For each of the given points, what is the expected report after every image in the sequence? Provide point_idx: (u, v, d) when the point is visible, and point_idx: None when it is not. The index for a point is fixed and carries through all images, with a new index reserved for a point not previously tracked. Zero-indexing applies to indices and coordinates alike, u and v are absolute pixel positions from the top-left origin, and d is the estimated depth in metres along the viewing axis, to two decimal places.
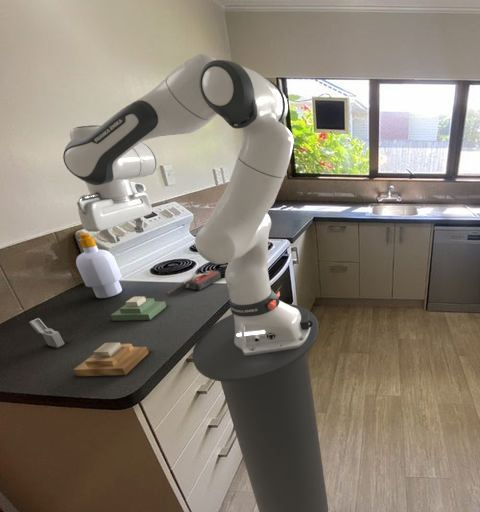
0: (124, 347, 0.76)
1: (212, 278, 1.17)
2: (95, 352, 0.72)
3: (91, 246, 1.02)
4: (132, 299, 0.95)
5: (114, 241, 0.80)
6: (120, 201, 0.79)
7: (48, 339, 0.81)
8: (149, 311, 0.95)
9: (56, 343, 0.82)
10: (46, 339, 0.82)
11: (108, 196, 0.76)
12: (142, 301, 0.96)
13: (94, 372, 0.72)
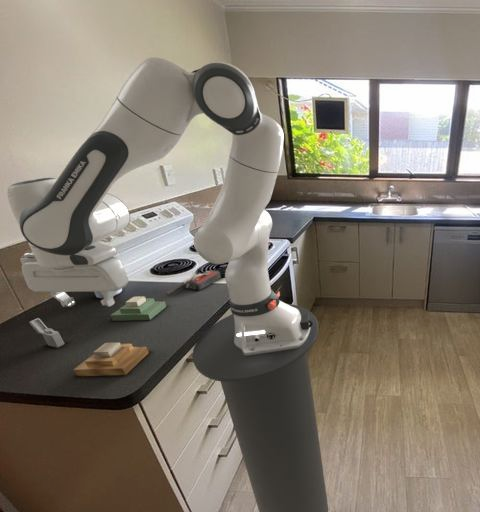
0: (124, 347, 0.76)
1: (212, 278, 1.17)
2: (95, 352, 0.72)
3: None
4: (132, 299, 0.95)
5: None
6: (51, 270, 0.63)
7: (48, 339, 0.81)
8: (149, 311, 0.95)
9: (56, 343, 0.82)
10: (46, 340, 0.82)
11: None
12: (142, 301, 0.96)
13: (94, 372, 0.72)
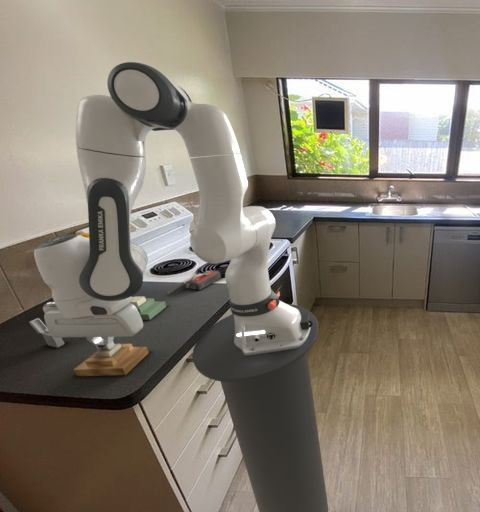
0: (124, 347, 0.76)
1: (212, 278, 1.17)
2: (96, 353, 0.72)
3: None
4: None
5: None
6: (72, 319, 0.67)
7: (48, 339, 0.81)
8: (149, 311, 0.95)
9: (56, 343, 0.82)
10: (46, 340, 0.82)
11: None
12: (142, 301, 0.96)
13: (94, 372, 0.72)
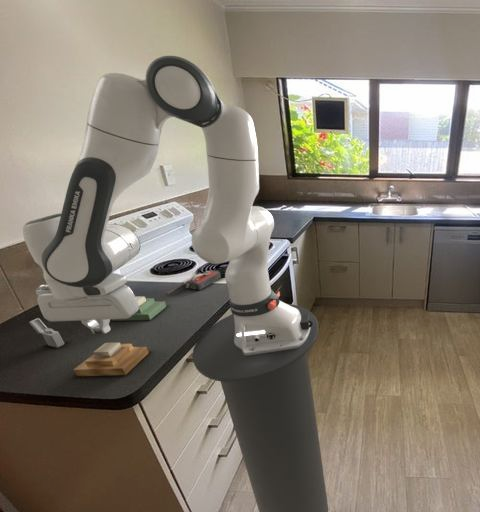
0: (124, 347, 0.76)
1: (212, 278, 1.17)
2: (95, 352, 0.72)
3: None
4: None
5: None
6: (65, 301, 0.65)
7: (48, 339, 0.81)
8: (149, 311, 0.95)
9: (56, 343, 0.82)
10: (46, 339, 0.82)
11: None
12: (142, 301, 0.96)
13: (94, 372, 0.72)
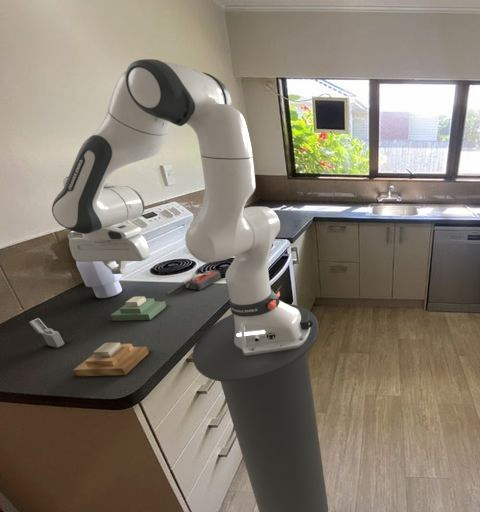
0: (124, 347, 0.76)
1: (212, 278, 1.17)
2: (95, 352, 0.72)
3: None
4: (132, 299, 0.95)
5: None
6: (93, 243, 0.82)
7: (48, 339, 0.81)
8: (149, 311, 0.95)
9: (56, 343, 0.82)
10: (46, 340, 0.82)
11: None
12: (142, 301, 0.96)
13: (94, 372, 0.72)
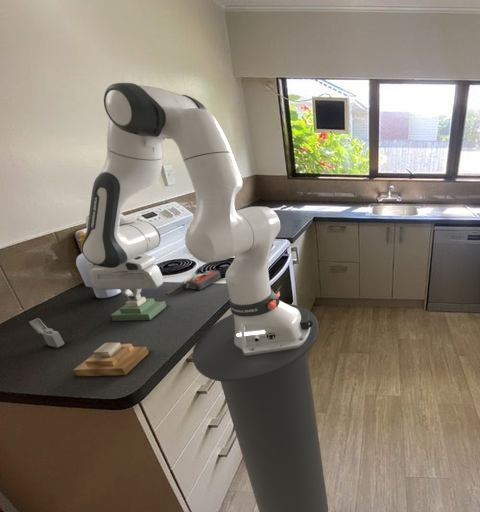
0: (124, 347, 0.76)
1: (212, 278, 1.17)
2: (95, 352, 0.72)
3: None
4: None
5: None
6: (111, 274, 0.89)
7: (48, 339, 0.81)
8: (149, 311, 0.95)
9: (56, 343, 0.82)
10: (46, 340, 0.82)
11: None
12: (142, 301, 0.96)
13: (94, 372, 0.72)
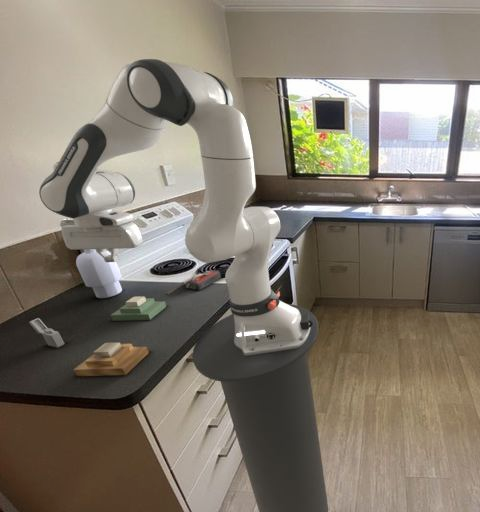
0: (124, 347, 0.76)
1: (212, 278, 1.17)
2: (95, 352, 0.72)
3: None
4: (132, 299, 0.95)
5: None
6: (84, 230, 0.82)
7: (48, 339, 0.81)
8: (149, 311, 0.95)
9: (56, 343, 0.82)
10: (46, 339, 0.82)
11: None
12: (142, 301, 0.96)
13: (94, 372, 0.72)
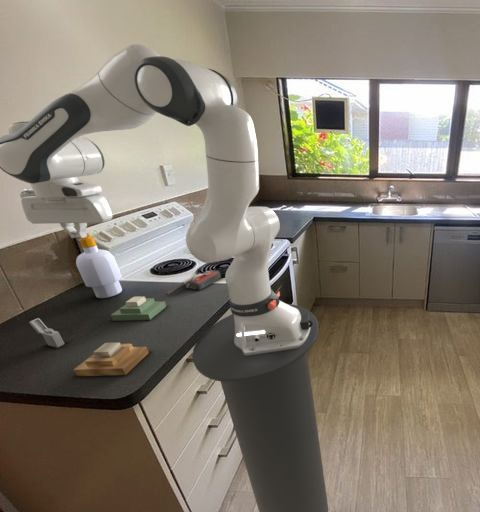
0: (124, 347, 0.76)
1: (212, 278, 1.17)
2: (95, 352, 0.72)
3: (91, 246, 1.02)
4: (132, 299, 0.95)
5: None
6: (46, 202, 0.75)
7: (48, 339, 0.81)
8: (149, 311, 0.95)
9: (56, 343, 0.82)
10: (46, 339, 0.82)
11: None
12: (142, 301, 0.96)
13: (94, 372, 0.72)
